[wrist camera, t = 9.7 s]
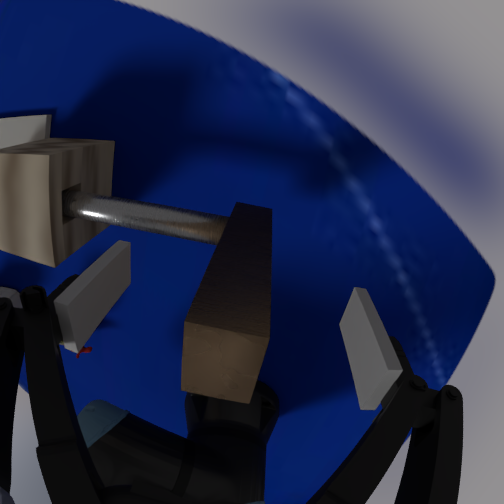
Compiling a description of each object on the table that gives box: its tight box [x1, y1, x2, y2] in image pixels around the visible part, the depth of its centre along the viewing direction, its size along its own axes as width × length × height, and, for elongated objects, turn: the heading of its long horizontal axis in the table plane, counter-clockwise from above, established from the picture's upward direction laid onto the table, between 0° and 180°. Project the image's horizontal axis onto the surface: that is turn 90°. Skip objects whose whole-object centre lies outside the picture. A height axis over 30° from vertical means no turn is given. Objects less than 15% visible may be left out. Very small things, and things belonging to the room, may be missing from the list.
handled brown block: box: [62, 189, 272, 404], centre depth 18 cm, size 26×4×16 cm, turn 79°
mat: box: [0, 115, 52, 149], centre depth 30 cm, size 16×16×1 cm
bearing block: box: [0, 138, 115, 268], centre depth 25 cm, size 10×10×11 cm
